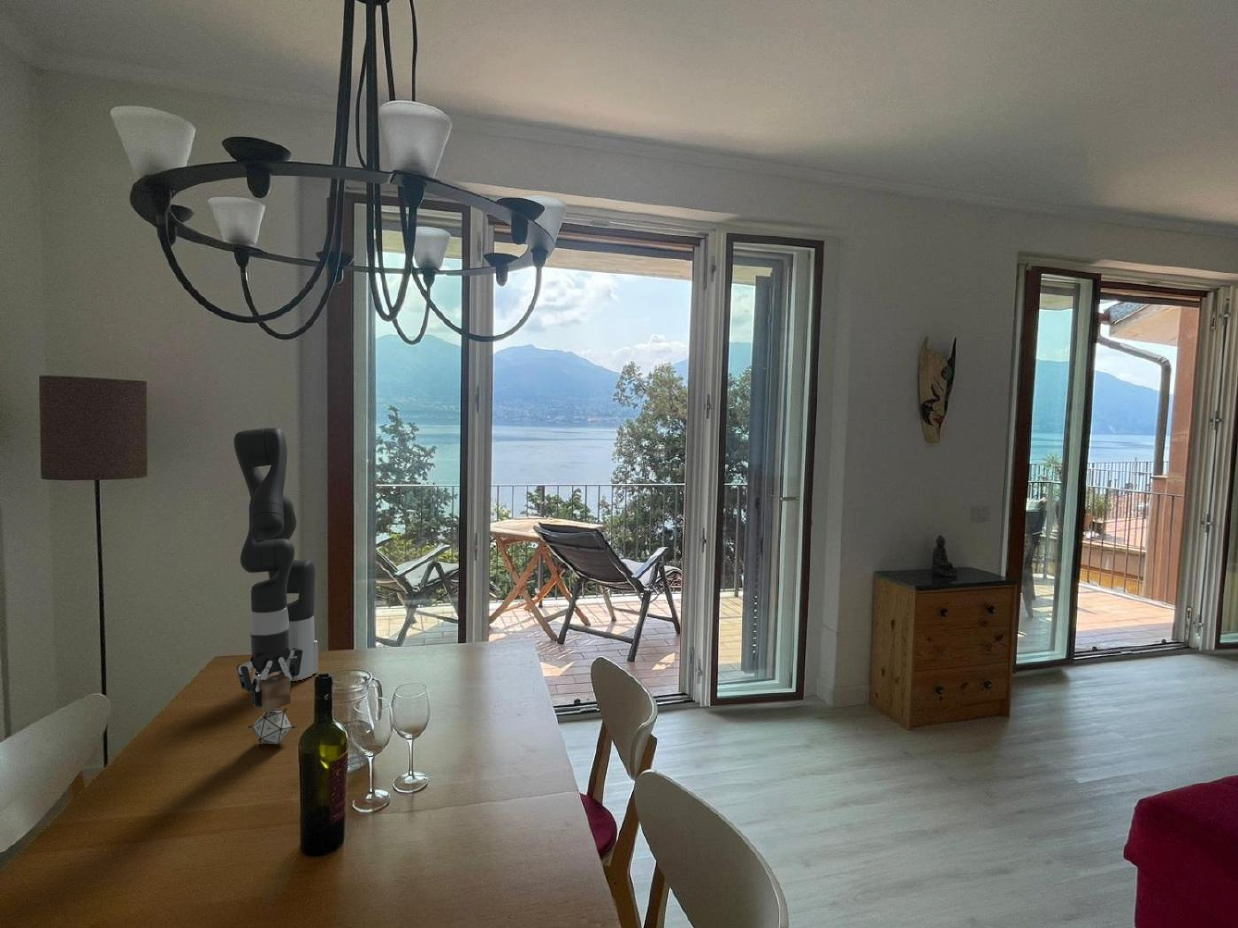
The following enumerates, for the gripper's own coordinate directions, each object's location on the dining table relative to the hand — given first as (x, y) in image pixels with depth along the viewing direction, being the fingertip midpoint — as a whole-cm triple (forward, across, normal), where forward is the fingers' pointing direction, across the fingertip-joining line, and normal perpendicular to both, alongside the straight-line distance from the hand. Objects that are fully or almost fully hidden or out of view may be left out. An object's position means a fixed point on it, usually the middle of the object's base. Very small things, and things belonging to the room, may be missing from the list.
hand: (271, 700), depth 148 cm
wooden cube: (+1, 0, 0) cm, 1 cm away
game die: (+10, 0, 0) cm, 10 cm away
